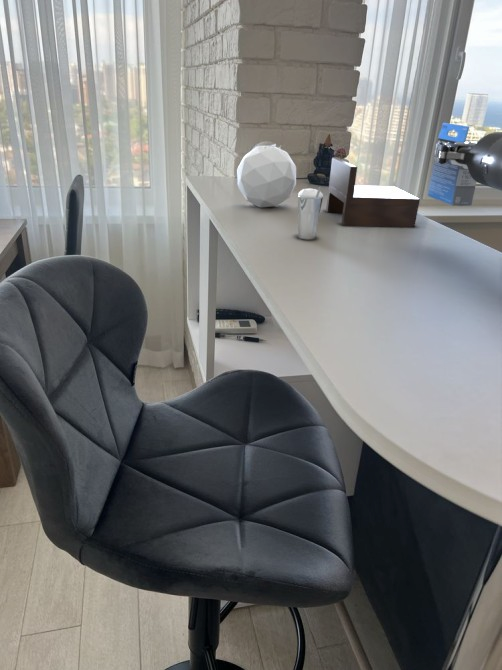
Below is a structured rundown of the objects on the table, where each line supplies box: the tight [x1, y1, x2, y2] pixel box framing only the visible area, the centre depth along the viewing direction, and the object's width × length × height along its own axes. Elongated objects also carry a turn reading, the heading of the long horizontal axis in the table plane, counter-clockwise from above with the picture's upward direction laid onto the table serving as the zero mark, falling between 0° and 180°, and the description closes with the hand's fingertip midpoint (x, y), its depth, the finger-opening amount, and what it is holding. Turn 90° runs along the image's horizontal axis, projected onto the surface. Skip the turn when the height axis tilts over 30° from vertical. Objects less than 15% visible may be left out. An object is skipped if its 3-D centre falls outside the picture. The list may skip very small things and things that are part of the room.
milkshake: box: [297, 186, 324, 241], centre depth 94 cm, size 4×5×10 cm
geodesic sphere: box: [236, 143, 297, 208], centre depth 118 cm, size 15×14×14 cm
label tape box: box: [427, 122, 477, 207], centre depth 85 cm, size 9×4×12 cm, turn 9°
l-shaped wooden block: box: [325, 157, 421, 228], centre depth 111 cm, size 16×14×12 cm
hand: (451, 148), depth 86 cm, fingers open, 4 cm apart
